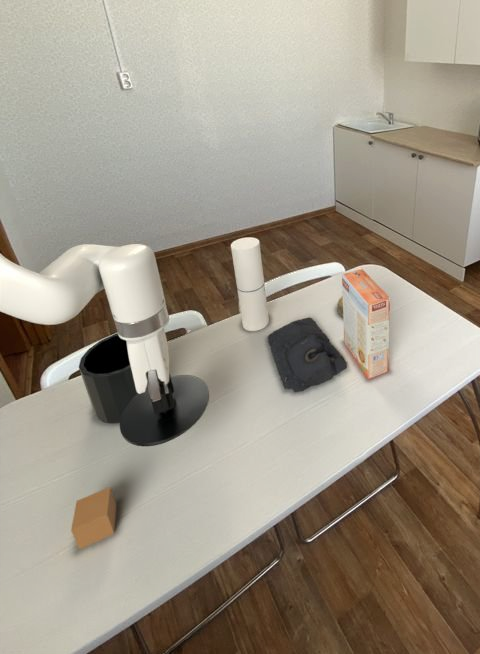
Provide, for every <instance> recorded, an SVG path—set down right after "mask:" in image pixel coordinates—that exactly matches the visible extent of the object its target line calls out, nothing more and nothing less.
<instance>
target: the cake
mask: <svg viewBox="0 0 480 654" xmlns="http://www.w3.org/2000/svg"><path fill="white" fill-rule="evenodd" d="M336 312H337V315H339V316H340V317H341V318H343V295H342V296H341V297H340V298H339V299H338V301H337V308H336Z"/></svg>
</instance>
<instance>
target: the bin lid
mask: <svg viewBox="0 0 480 654" xmlns="http://www.w3.org/2000/svg"><path fill="white" fill-rule="evenodd" d="M170 376H171V375H170ZM171 380H172V384H173V389H174V392H173V393H172V396H173V400H174V408H172V409H170V410H167V411H164V412H161V413H159V414H155V413H154V410H153V407H152V403H151V399H150V394H149V390H148V387H146V390H145V392H144V393H141V394H139V393H138V394H137V395H136V396H135V397H134V398H133V399H132V400H131V401H130V402H129V403H128V405H127V406H126V408H125V409H124V411H123V413H122V416H121V419H120V423H119V430H120V434H121V436H122V438H123V439H124V441H126V442H127V443H128V444H131V445H133V446H137V447H155V446H158V445H159V446H160V445H163V444H165V443H168V442H171V441H173V440H175V439H177V438H178V437H181V436H182V435H183V434H185V433H186V432H188V431H189V430H190V429H192V427H193V426H195V425H196V424H197V423H198V421H199V420H200V419H201V417H203V415H204V414H205V411H206V410H207V407H208V406H209V405H208V404H209V401H210V391H209V387H208V385H207V384H206V383H205V381H204V380H203V379H201V378H200V377H198V376H195V375H191V374H177V375H172V376H171ZM167 384H168V388H169V389H170V388H171V387H170V383H169V382H168V383H167ZM162 387H163V384H160V388H162ZM171 392H172V391H171Z"/></svg>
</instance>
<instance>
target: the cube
mask: <svg viewBox="0 0 480 654" xmlns="http://www.w3.org/2000/svg"><path fill="white" fill-rule="evenodd" d="M117 506H118V505H117V502H116V499H115V497H114V493H113V490H112V488H111V486H109V487H107V488H104V489H101V490H100V491H97V492H94V493H92V494H90V495H87V496H84V497H82V498H80V499H78V500H76V502H75V507H74V513H73V518H72V519H73V520H72V522H71V528H70V532H71V534H72V536H73V539H74V541H75V543H76V545H77V547H78V549H79V550H81V549H83V548H86V547H88V546H90V545H92V544H94V543H96V542H99V541H101V540H103V539H105V538H108V537H110V536H112V535H114V534H115V528H116V518H117V508H118V507H117Z"/></svg>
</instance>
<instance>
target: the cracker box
mask: <svg viewBox="0 0 480 654" xmlns="http://www.w3.org/2000/svg"><path fill="white" fill-rule="evenodd" d="M341 283H342V287H341V288H342V296H343V317H342V319H343V343H344V345H345V347H346V348H347V350H348V352H349V353H350V354H351V356H352V358H353V359H354V361H355V362H356V364H357V365H358V367H359V368H360V370H361V371H362V373H363V375H364V377H365V379H367V380H371V379H373V378H376V377H379V376H381V375H384V374H386V373H389V361H390V360H389V358H390V357H389V356H390V355H389V353H390V316H391V315H390V314H391V313H390V310H391V308H390V307H391V298H390V296H389V295H388V294H387V293H386V292H385V291H384V290H383V289H382V288H381V286H379V285H378V284H377V282H375V281H374V280H373V279H372V278H371V276H369V275H368V274H367V272H366V271H365V270H364V268H363V269H356V270H353V271H349V272H345V273H342V274H341Z"/></svg>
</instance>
